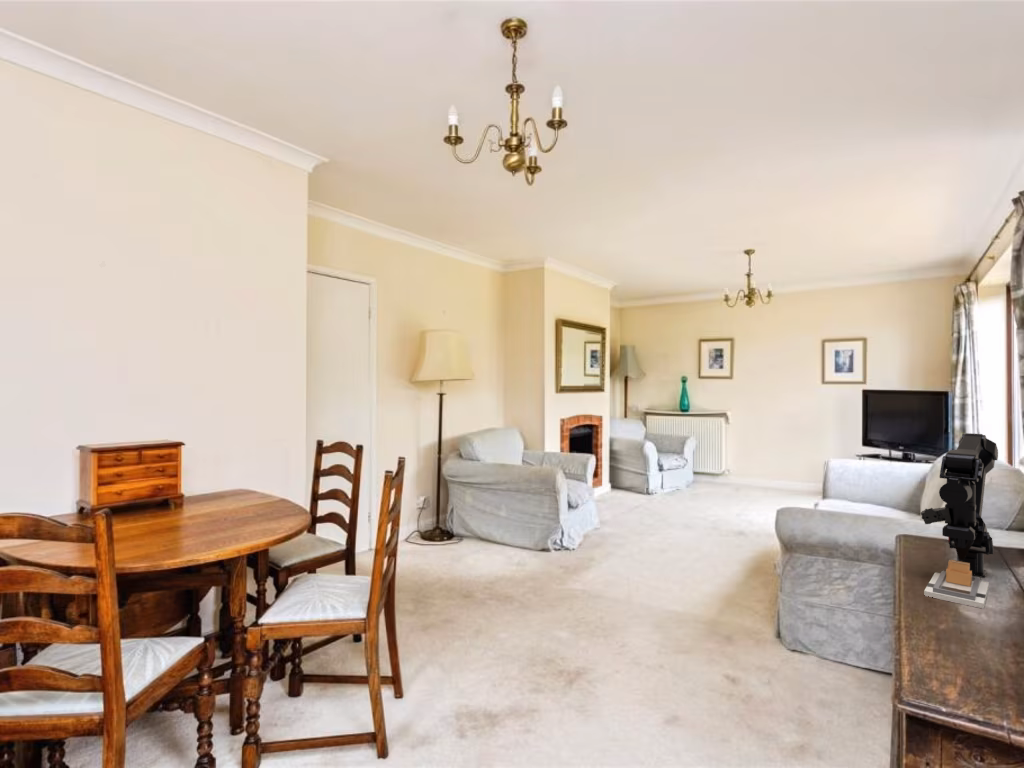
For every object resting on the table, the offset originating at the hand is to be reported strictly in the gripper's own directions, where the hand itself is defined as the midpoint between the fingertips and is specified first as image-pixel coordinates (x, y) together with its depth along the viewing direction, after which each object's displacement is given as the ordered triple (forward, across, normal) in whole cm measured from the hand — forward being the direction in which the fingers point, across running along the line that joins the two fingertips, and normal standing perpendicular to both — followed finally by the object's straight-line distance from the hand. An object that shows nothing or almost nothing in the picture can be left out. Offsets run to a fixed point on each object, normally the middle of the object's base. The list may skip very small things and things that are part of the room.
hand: (961, 559), depth 143 cm
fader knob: (+5, +6, 0) cm, 7 cm away
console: (+6, +10, 0) cm, 11 cm away
